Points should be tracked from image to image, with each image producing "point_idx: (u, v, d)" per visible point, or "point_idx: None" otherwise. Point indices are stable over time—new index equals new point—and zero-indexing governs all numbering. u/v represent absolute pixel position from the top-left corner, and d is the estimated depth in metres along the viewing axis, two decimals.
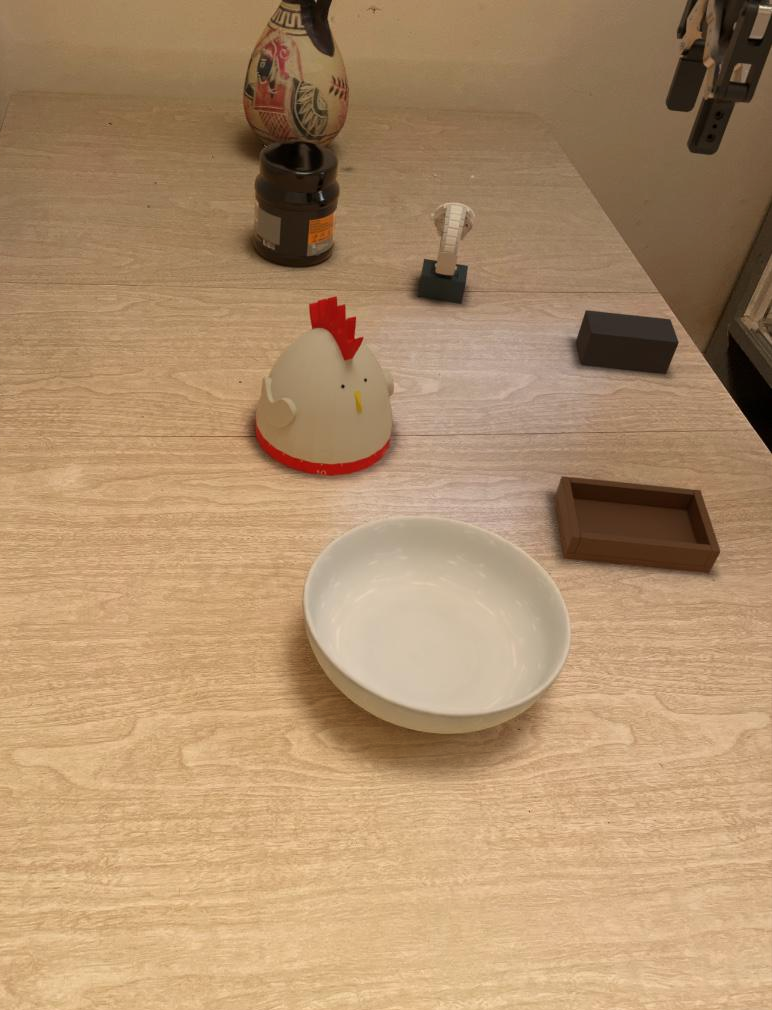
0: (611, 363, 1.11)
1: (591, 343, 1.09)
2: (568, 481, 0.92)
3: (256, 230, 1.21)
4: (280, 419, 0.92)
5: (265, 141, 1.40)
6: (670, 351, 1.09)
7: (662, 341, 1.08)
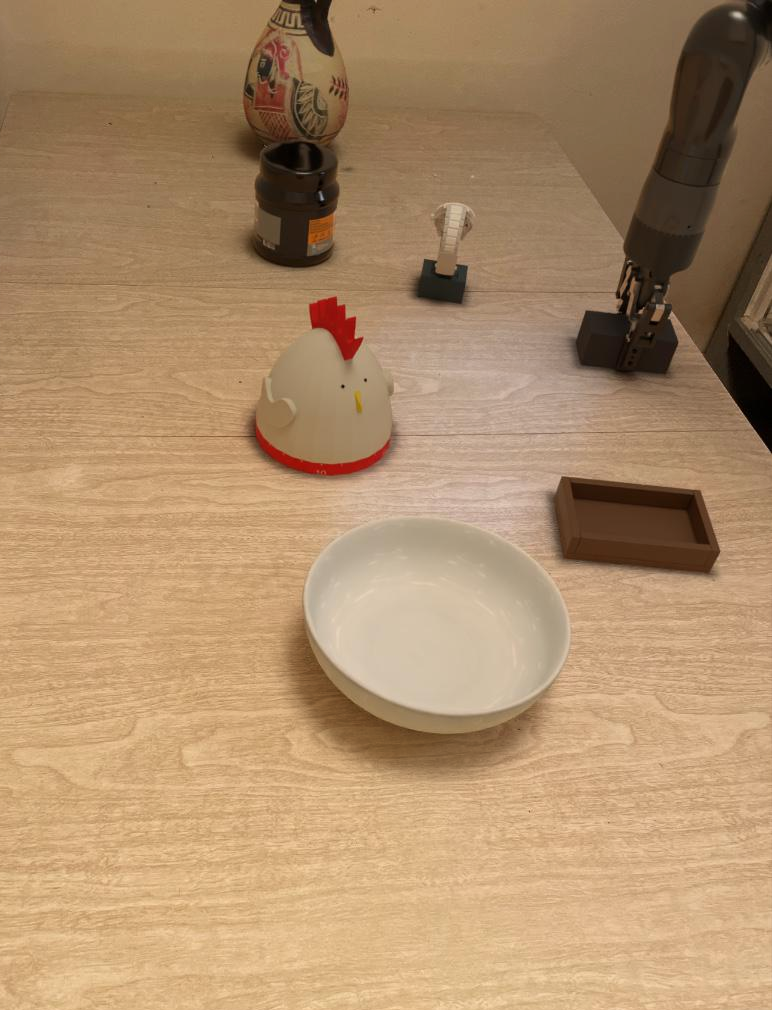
0: (611, 363, 1.11)
1: (591, 343, 1.09)
2: (568, 481, 0.92)
3: (256, 230, 1.21)
4: (280, 419, 0.92)
5: (265, 141, 1.40)
6: (670, 351, 1.09)
7: (662, 341, 1.08)
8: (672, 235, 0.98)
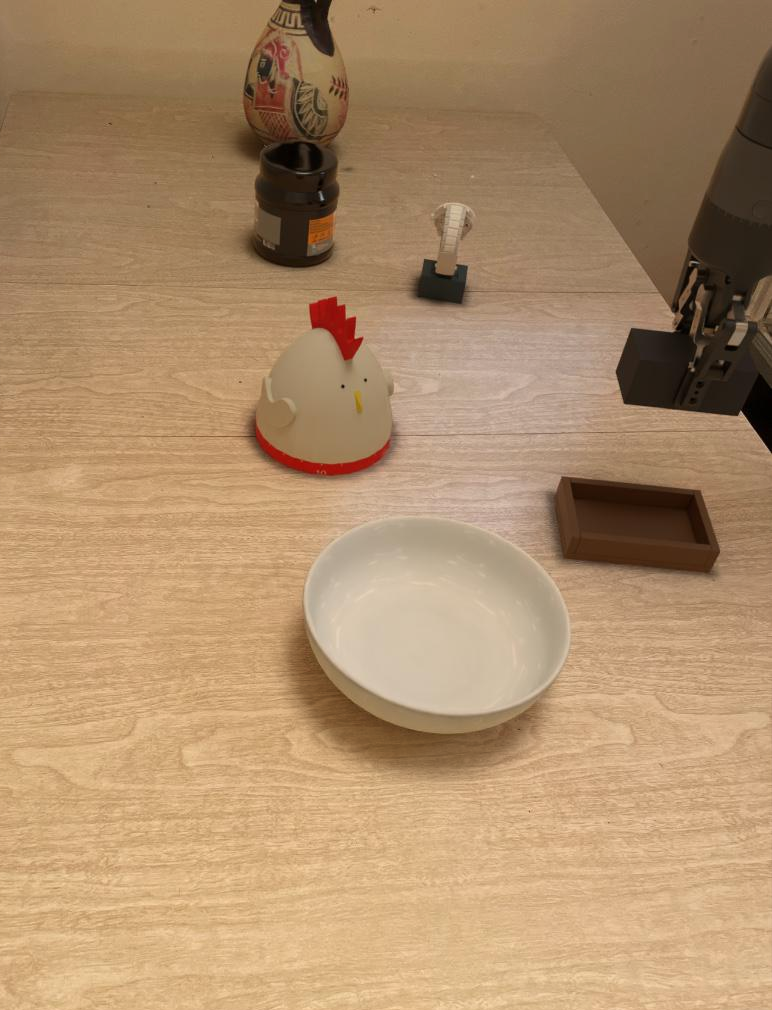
0: (665, 399, 0.82)
1: (639, 373, 0.80)
2: (568, 481, 0.92)
3: (256, 230, 1.21)
4: (280, 419, 0.92)
5: (265, 141, 1.40)
6: (747, 384, 0.80)
7: (737, 371, 0.80)
8: (762, 225, 0.70)
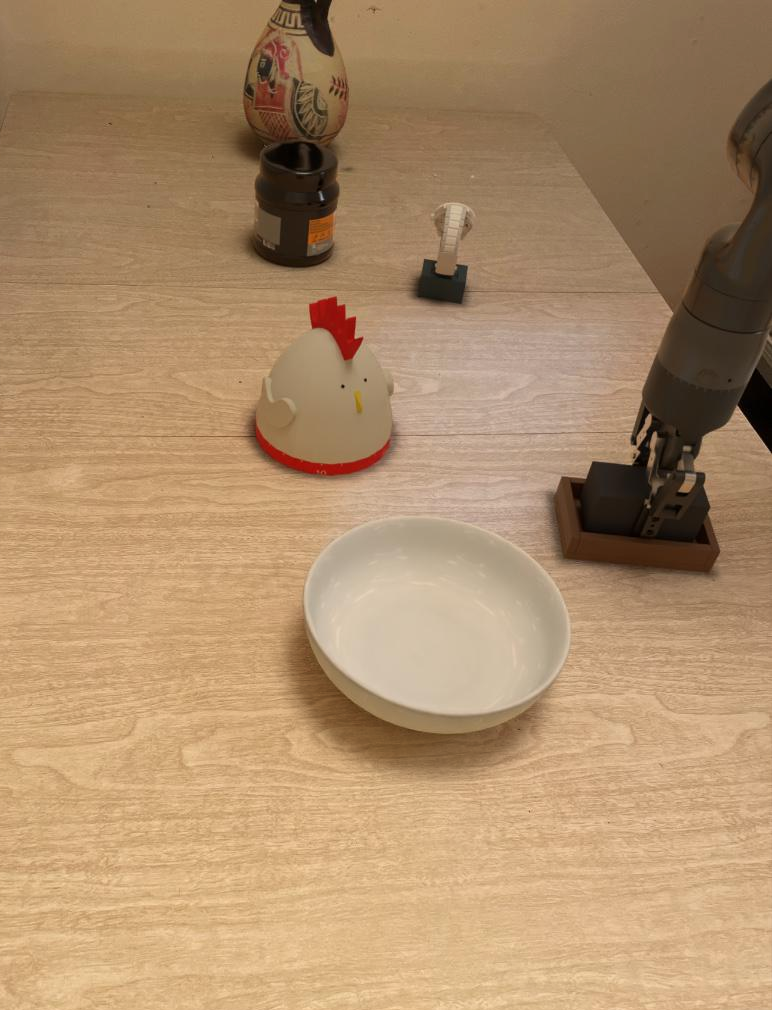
0: (625, 529, 0.88)
1: (599, 507, 0.86)
2: (568, 481, 0.92)
3: (256, 230, 1.21)
4: (280, 419, 0.92)
5: (265, 141, 1.40)
6: (699, 517, 0.86)
7: (690, 506, 0.86)
8: (707, 390, 0.75)
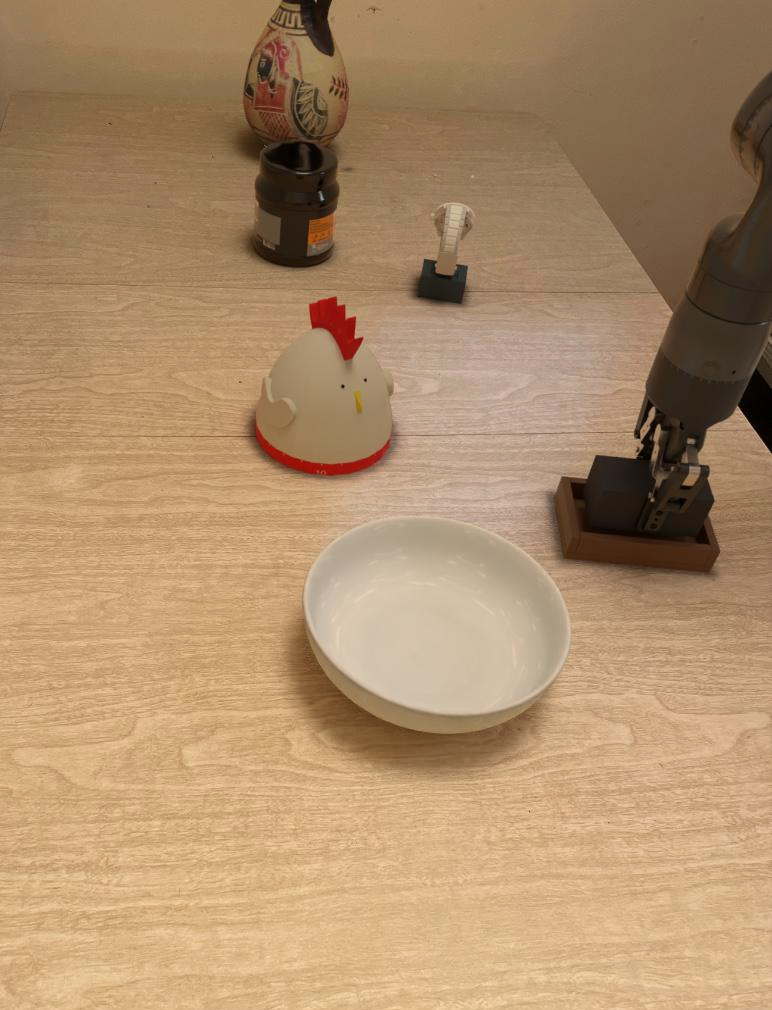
0: (628, 523, 0.87)
1: (603, 501, 0.86)
2: (568, 481, 0.92)
3: (256, 230, 1.21)
4: (280, 419, 0.92)
5: (265, 141, 1.40)
6: (704, 510, 0.86)
7: (694, 499, 0.85)
8: (711, 382, 0.75)
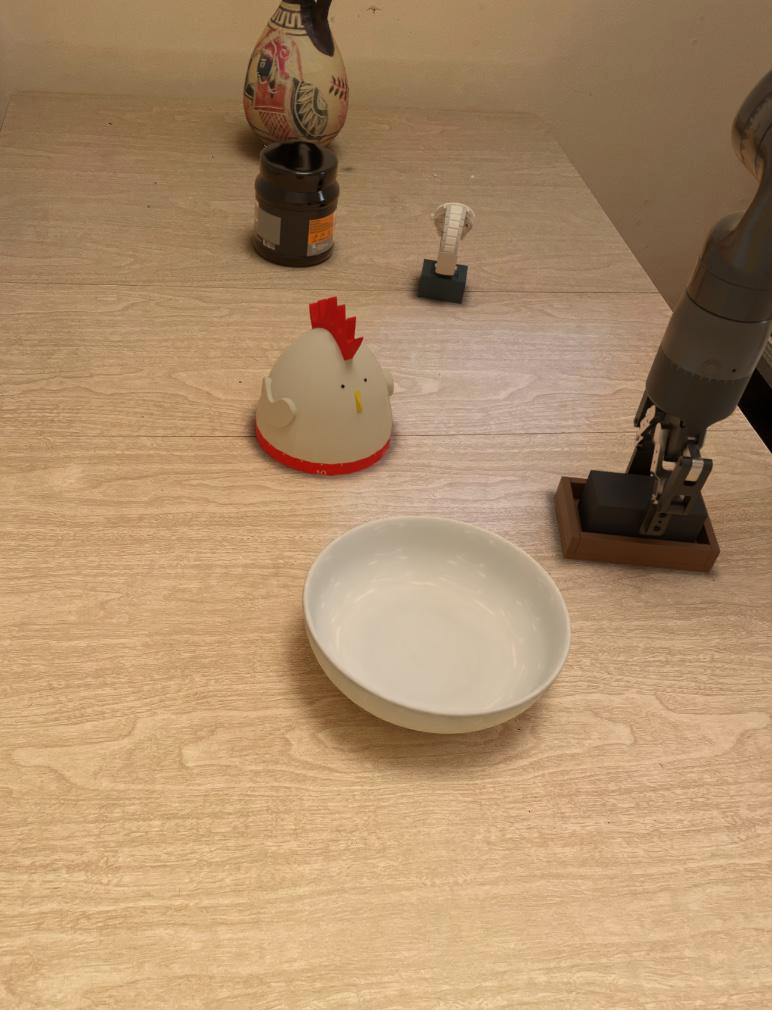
0: None
1: (597, 516, 0.87)
2: (568, 481, 0.92)
3: (256, 230, 1.21)
4: (280, 419, 0.92)
5: (265, 141, 1.40)
6: (697, 525, 0.87)
7: None
8: (712, 380, 0.75)
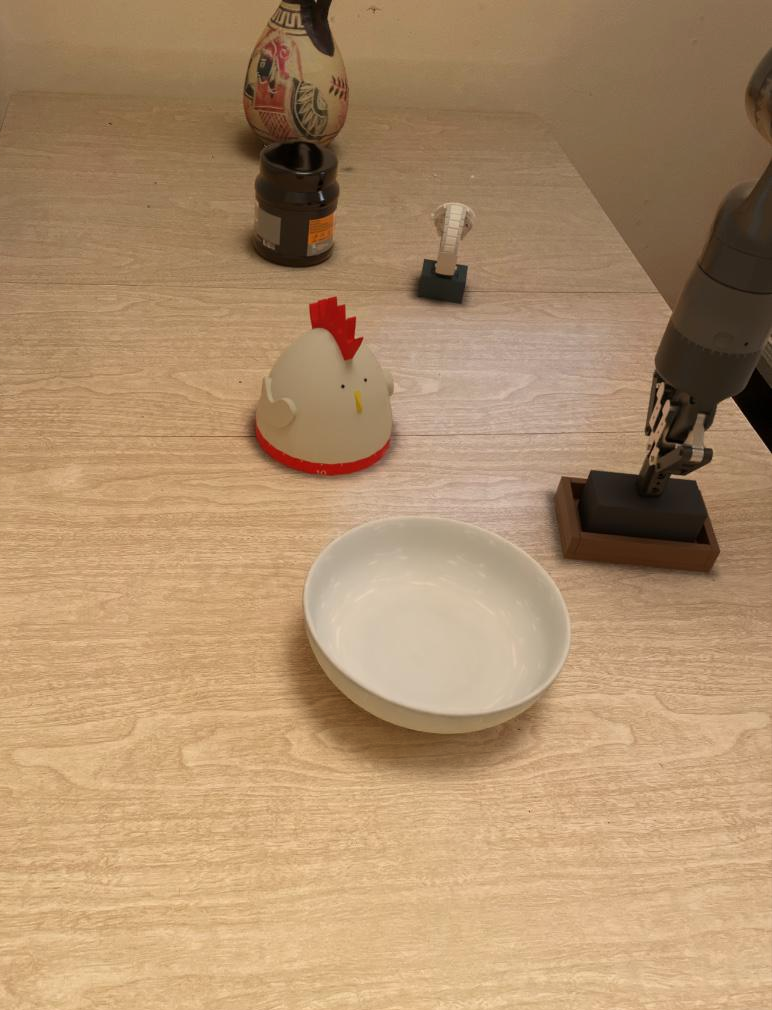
0: None
1: (597, 516, 0.87)
2: (568, 481, 0.92)
3: (256, 230, 1.21)
4: (280, 419, 0.92)
5: (265, 141, 1.40)
6: (697, 525, 0.87)
7: (687, 514, 0.86)
8: (723, 354, 0.73)
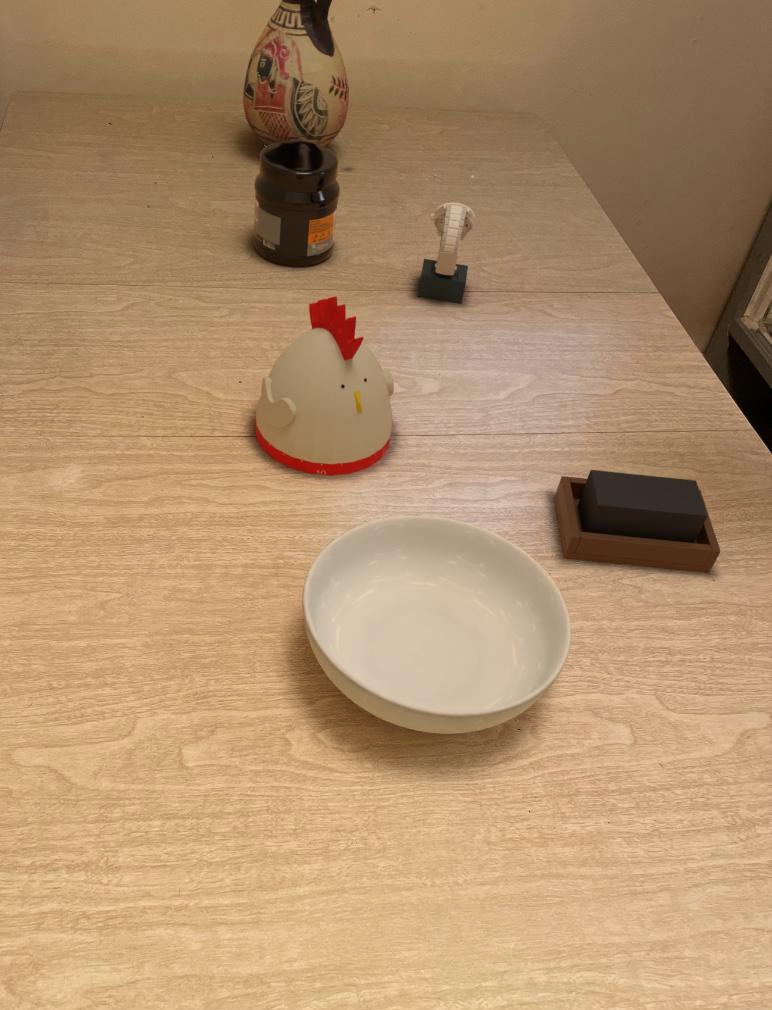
0: None
1: (597, 516, 0.87)
2: (568, 481, 0.92)
3: (256, 230, 1.21)
4: (280, 419, 0.92)
5: (265, 141, 1.40)
6: (697, 525, 0.87)
7: (687, 514, 0.86)
8: None
